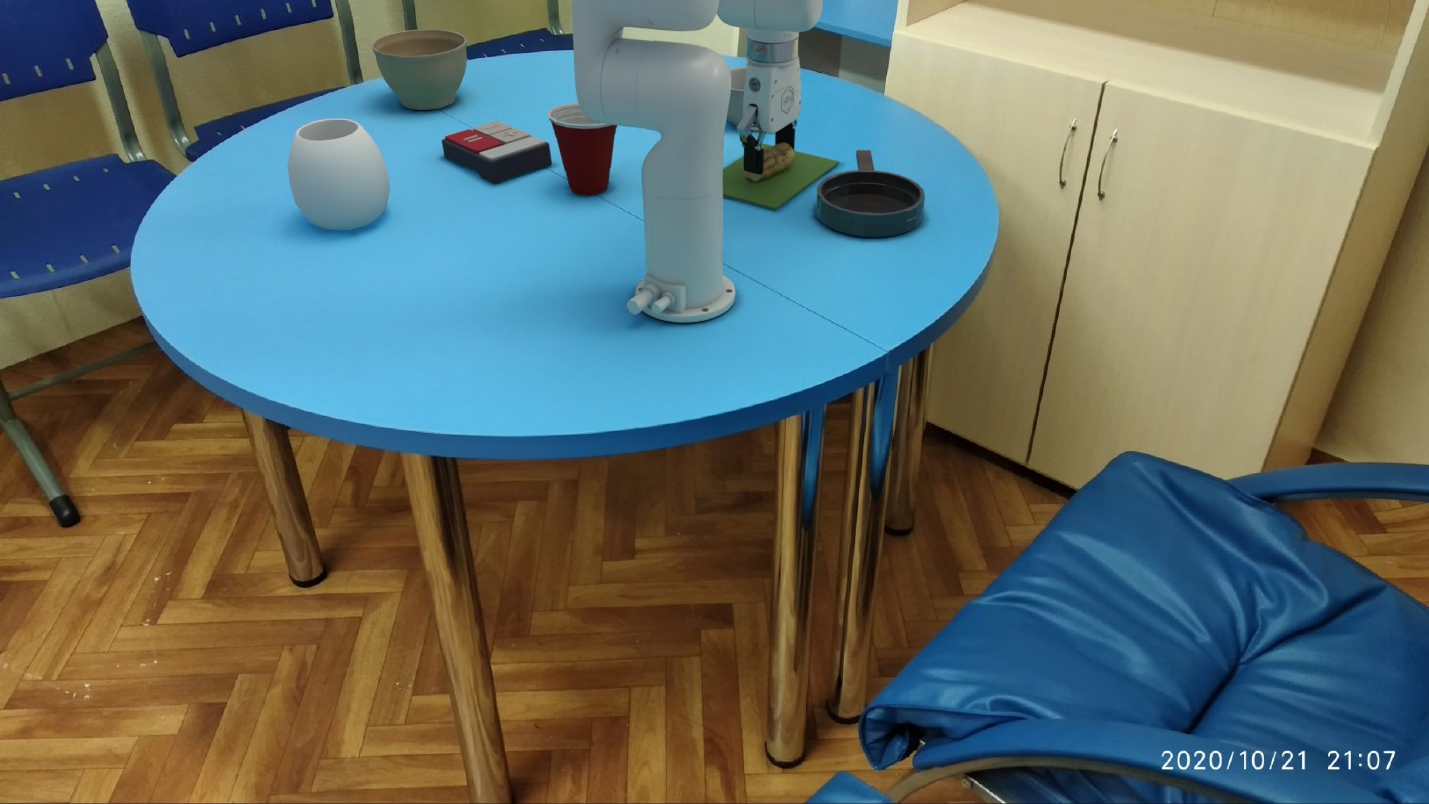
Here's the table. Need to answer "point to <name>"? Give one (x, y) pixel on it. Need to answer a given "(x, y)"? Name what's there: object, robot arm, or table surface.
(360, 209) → the white vase
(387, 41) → the planter bowl
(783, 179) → the green mat
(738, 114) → the teacup
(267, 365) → the table surface
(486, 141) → the calculator
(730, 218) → the table surface
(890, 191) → the pan
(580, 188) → the plastic cup
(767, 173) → the carved stone cylinder
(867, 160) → the pan handle
